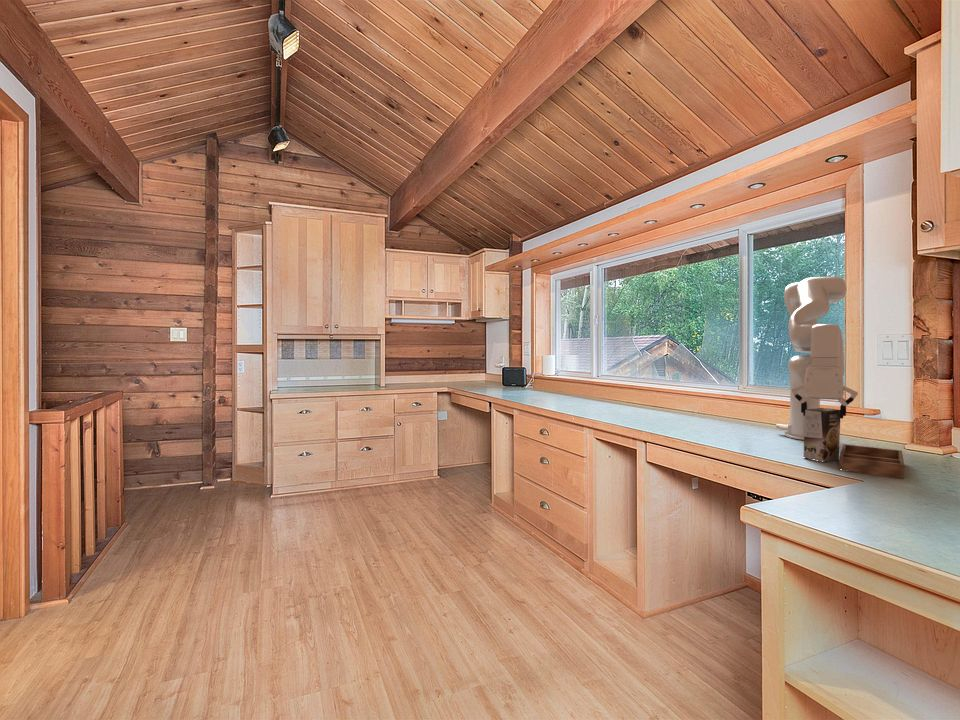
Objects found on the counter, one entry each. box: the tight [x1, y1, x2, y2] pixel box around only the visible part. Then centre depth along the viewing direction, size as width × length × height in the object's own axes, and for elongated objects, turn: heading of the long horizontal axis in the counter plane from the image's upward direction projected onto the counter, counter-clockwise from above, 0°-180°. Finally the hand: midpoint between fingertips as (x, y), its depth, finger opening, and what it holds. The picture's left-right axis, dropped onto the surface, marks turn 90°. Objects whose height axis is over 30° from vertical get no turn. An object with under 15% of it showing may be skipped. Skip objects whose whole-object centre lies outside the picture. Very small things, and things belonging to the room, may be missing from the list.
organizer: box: [838, 443, 905, 480], centre depth 149 cm, size 15×20×4 cm
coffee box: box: [802, 407, 841, 463], centre depth 158 cm, size 9×6×16 cm
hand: (823, 416), depth 157 cm, fingers open, 9 cm apart
